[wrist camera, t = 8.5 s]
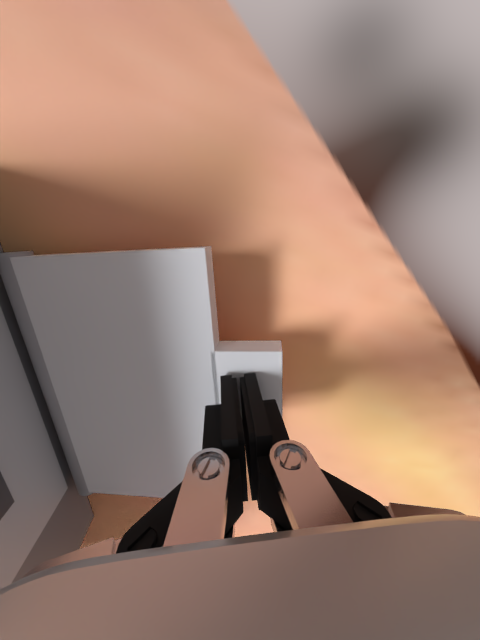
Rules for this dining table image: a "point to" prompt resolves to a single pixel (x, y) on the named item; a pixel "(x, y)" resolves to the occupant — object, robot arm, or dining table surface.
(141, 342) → the side door
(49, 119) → the dining table surface
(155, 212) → the dining table surface
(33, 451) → the block
